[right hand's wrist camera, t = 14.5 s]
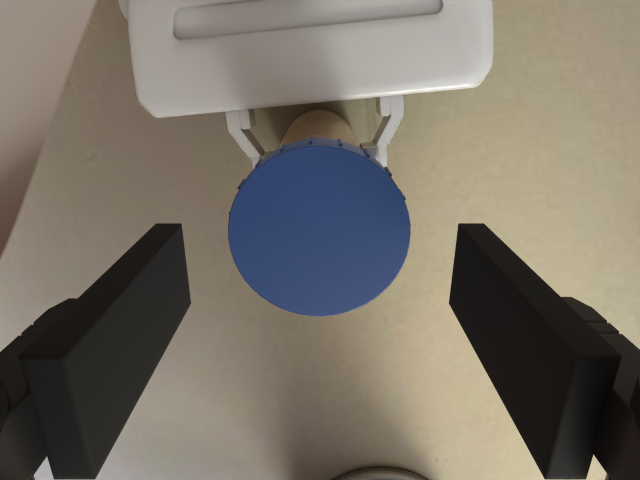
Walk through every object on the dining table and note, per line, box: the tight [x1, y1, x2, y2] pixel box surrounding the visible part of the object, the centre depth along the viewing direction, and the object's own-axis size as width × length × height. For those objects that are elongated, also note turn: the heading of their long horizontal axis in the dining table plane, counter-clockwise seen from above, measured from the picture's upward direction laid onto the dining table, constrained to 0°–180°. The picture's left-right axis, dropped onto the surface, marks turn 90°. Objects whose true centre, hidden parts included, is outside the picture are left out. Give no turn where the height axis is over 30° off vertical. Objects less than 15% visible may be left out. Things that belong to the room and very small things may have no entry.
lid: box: [228, 136, 410, 316], centre depth 17 cm, size 7×7×2 cm
